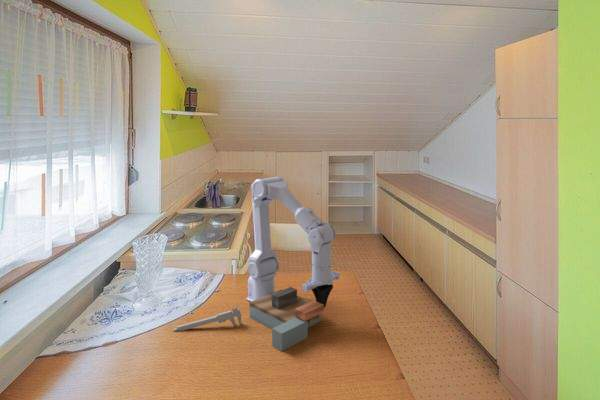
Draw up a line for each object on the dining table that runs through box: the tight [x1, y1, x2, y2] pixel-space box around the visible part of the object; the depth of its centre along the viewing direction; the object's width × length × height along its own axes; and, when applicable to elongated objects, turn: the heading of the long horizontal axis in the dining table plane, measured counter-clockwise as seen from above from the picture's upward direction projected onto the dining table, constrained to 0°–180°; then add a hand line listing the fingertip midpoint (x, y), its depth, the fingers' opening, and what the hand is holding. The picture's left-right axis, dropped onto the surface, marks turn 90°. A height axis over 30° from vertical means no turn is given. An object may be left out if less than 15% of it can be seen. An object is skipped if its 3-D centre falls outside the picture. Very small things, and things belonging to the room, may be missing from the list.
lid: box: [249, 286, 319, 323], centre depth 124 cm, size 22×14×6 cm, turn 45°
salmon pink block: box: [295, 300, 325, 321], centre depth 117 cm, size 4×8×2 cm, turn 135°
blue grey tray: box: [249, 305, 322, 352], centre depth 122 cm, size 22×20×5 cm
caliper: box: [172, 305, 242, 332], centre depth 121 cm, size 20×1×6 cm, turn 100°
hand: (321, 307), depth 121 cm, fingers closed
